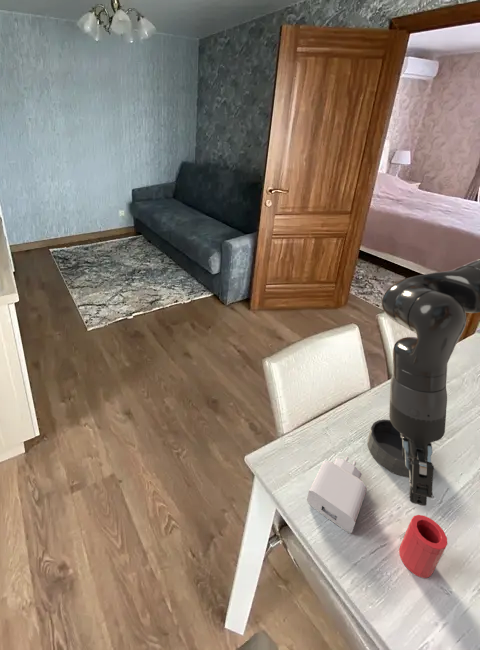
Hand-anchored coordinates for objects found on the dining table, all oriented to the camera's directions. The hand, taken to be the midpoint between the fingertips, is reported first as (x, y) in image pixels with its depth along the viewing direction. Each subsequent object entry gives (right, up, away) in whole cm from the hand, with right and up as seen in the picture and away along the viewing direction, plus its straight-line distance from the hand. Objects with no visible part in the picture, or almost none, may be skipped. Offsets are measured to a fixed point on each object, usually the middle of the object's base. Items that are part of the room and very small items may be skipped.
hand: (413, 479), depth 60 cm
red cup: (+4, -19, +6) cm, 20 cm away
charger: (-5, -15, +18) cm, 23 cm away
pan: (+13, -11, +26) cm, 31 cm away
